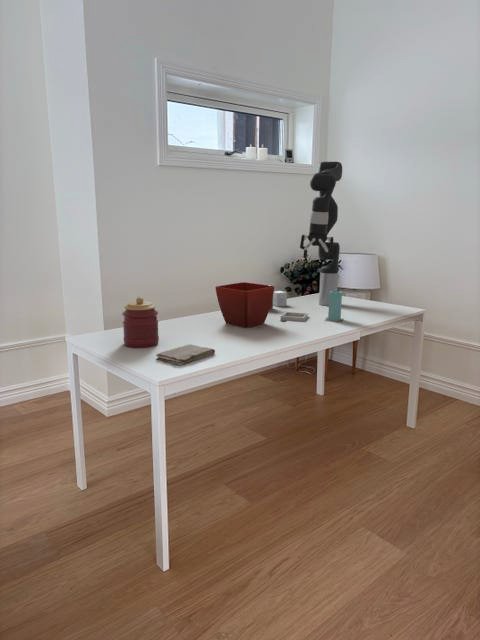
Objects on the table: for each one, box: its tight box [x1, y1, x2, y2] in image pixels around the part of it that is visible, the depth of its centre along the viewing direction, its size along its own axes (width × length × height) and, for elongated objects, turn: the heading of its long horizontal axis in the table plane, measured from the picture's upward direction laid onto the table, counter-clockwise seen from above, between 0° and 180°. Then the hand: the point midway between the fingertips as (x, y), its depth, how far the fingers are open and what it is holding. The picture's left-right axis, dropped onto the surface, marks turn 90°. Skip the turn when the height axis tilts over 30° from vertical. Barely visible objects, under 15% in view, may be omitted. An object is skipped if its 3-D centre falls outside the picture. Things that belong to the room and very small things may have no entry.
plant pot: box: [214, 281, 275, 328], centre depth 211 cm, size 19×19×17 cm
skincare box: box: [273, 290, 288, 308], centre depth 254 cm, size 6×6×7 cm
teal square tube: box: [327, 290, 343, 322], centre depth 217 cm, size 5×5×13 cm
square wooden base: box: [324, 316, 345, 323], centre depth 218 cm, size 8×8×4 cm
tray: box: [280, 311, 309, 323], centre depth 221 cm, size 11×11×2 cm
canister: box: [121, 296, 160, 349], centre depth 177 cm, size 13×13×18 cm
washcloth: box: [155, 344, 216, 367], centre depth 163 cm, size 12×18×3 cm, turn 144°
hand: (315, 259), depth 211 cm, fingers open, 8 cm apart
